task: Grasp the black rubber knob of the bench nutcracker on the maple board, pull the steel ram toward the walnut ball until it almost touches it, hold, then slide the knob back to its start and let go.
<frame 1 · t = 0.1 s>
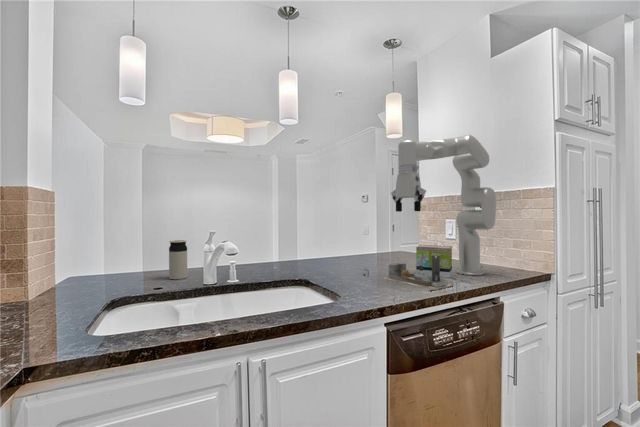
hand: (407, 211, 134), 31 cm above the worktop, tool pointing down, fingers open, 9 cm apart
tea box: (434, 277, 152), on the worktop
walnut: (405, 278, 142), point 1 cm above the worktop, touching press bed
press bed: (416, 283, 137), on the worktop
travel mug: (178, 278, 153), on the worktop
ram: (429, 269, 131), point 7 cm above the worktop, slide at 0.0 cm
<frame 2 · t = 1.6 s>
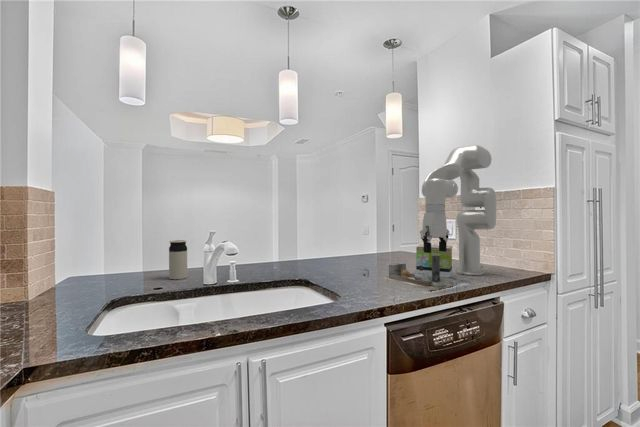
hand: (435, 252, 128), 15 cm above the worktop, tool pointing down, fingers open, 9 cm apart
nothing on the worktop moved.
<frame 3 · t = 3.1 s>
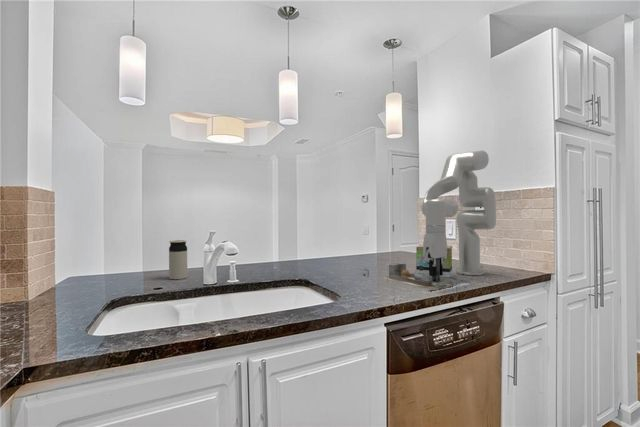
hand: (435, 275, 129), 5 cm above the worktop, tool pointing down, fingers closed on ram, 3 cm apart
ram: (429, 269, 131), point 7 cm above the worktop, slide at 0.0 cm, touching gripper
everything else where it was.
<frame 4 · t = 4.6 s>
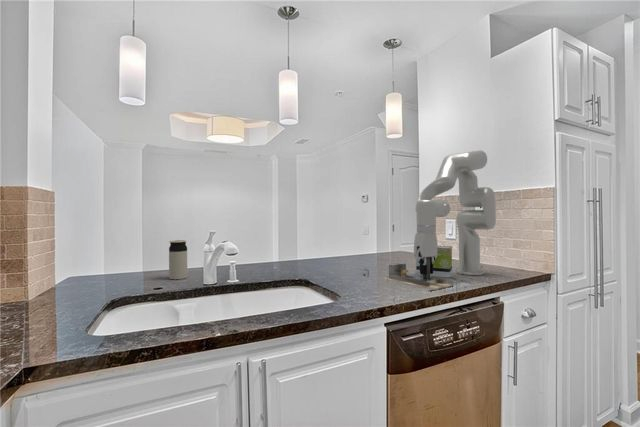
hand: (426, 273, 132), 5 cm above the worktop, tool pointing down, fingers closed on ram, 3 cm apart
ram: (420, 267, 135), point 7 cm above the worktop, slide at 4.5 cm, touching gripper
everything else where it was.
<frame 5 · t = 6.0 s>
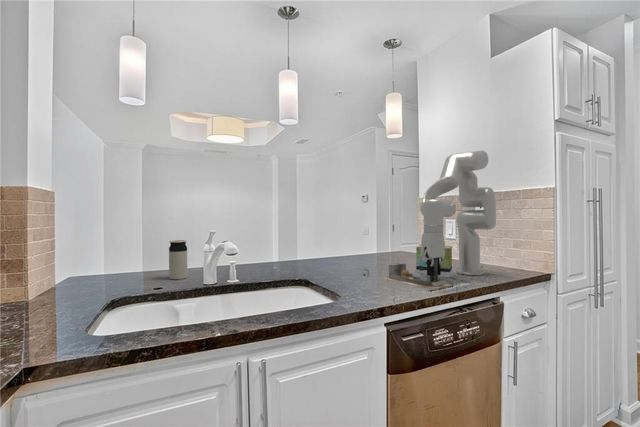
hand: (433, 274, 130), 5 cm above the worktop, tool pointing down, fingers closed on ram, 3 cm apart
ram: (427, 268, 132), point 7 cm above the worktop, slide at 1.0 cm, touching gripper
everything else where it was.
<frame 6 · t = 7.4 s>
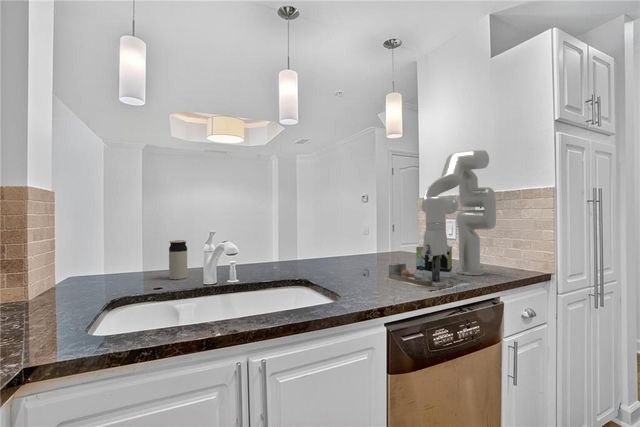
hand: (436, 269, 129), 7 cm above the worktop, tool pointing down, fingers open, 9 cm apart
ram: (429, 269, 131), point 7 cm above the worktop, slide at 0.1 cm
everything else where it was.
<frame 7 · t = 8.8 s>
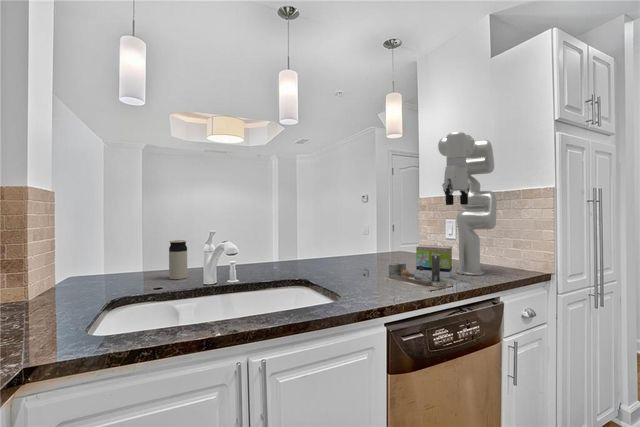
hand: (457, 204, 132), 34 cm above the worktop, tool pointing down, fingers open, 9 cm apart
nothing on the worktop moved.
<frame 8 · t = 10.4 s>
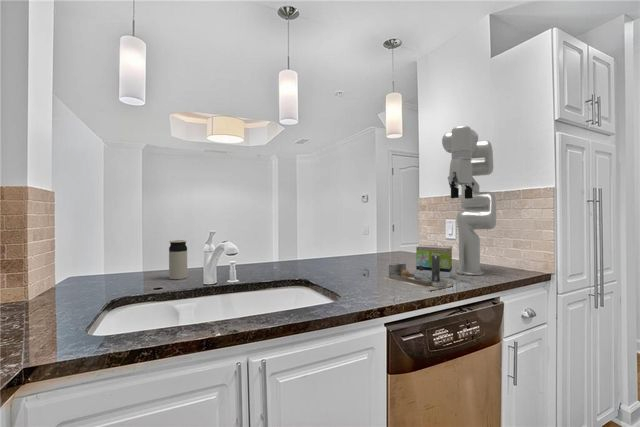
hand: (461, 198, 132), 36 cm above the worktop, tool pointing down, fingers open, 9 cm apart
nothing on the worktop moved.
at the end: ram slide at 0.1 cm; the gripper is holding nothing; walnut 0.2 cm from the target spot on the press bed, point 1.2 cm above the press bed's base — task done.
